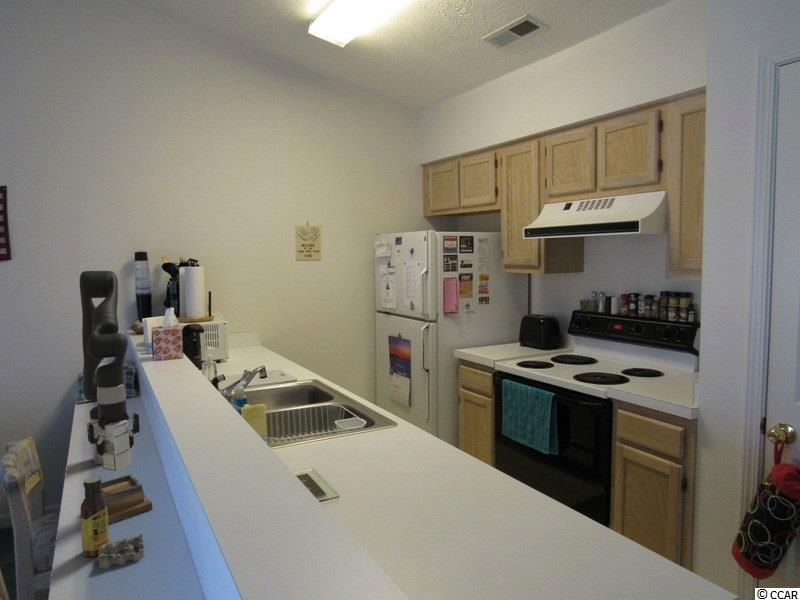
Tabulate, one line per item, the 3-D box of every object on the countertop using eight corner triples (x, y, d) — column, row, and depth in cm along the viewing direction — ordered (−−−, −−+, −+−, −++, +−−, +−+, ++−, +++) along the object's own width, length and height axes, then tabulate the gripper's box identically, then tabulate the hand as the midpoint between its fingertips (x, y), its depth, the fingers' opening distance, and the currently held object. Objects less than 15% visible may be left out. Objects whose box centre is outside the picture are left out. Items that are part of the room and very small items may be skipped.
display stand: (87, 506, 161) (85, 483, 160) (136, 491, 170) (134, 469, 169) (101, 526, 149) (99, 502, 148) (152, 509, 159) (150, 486, 158)
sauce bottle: (97, 559, 134) (91, 487, 132) (76, 556, 135) (70, 484, 133) (115, 544, 140) (110, 475, 138) (96, 542, 142) (90, 473, 139)
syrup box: (131, 463, 160) (128, 418, 158) (115, 472, 155) (112, 425, 153) (117, 461, 162) (114, 416, 160) (101, 469, 156) (98, 423, 155)
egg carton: (97, 572, 129) (95, 557, 129) (100, 555, 136) (98, 541, 136) (144, 560, 134) (143, 546, 133) (145, 545, 141) (143, 531, 140)
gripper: (133, 391, 163) (136, 441, 165) (81, 401, 154) (86, 454, 155) (141, 396, 158) (144, 448, 160) (87, 407, 148) (92, 461, 150)
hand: (115, 451), depth 158 cm, fingers closed on syrup box, 7 cm apart
